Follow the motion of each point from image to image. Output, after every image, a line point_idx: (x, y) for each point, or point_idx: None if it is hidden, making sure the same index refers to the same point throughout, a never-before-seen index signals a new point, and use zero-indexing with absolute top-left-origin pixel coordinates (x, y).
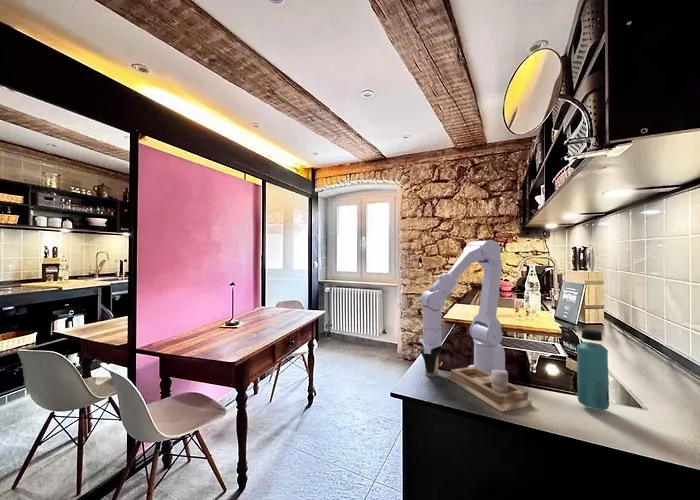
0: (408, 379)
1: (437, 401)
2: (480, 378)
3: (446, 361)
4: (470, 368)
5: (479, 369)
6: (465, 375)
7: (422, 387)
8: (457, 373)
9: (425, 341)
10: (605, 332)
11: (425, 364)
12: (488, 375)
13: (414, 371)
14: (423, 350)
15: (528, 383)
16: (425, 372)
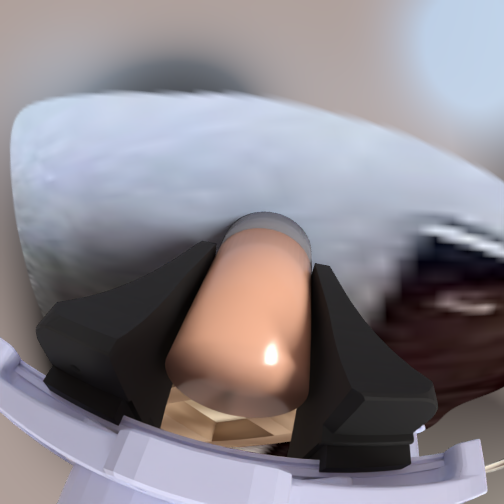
0: (129, 110)
1: (30, 261)
2: (172, 421)
3: (488, 327)
4: (269, 429)
5: (268, 441)
6: (171, 401)
7: (77, 206)
8: (175, 387)
9: (67, 479)
10: (499, 467)
11: (164, 266)
12: (216, 441)
13: (303, 127)
14: (59, 354)
15: (284, 455)
16: (248, 221)
